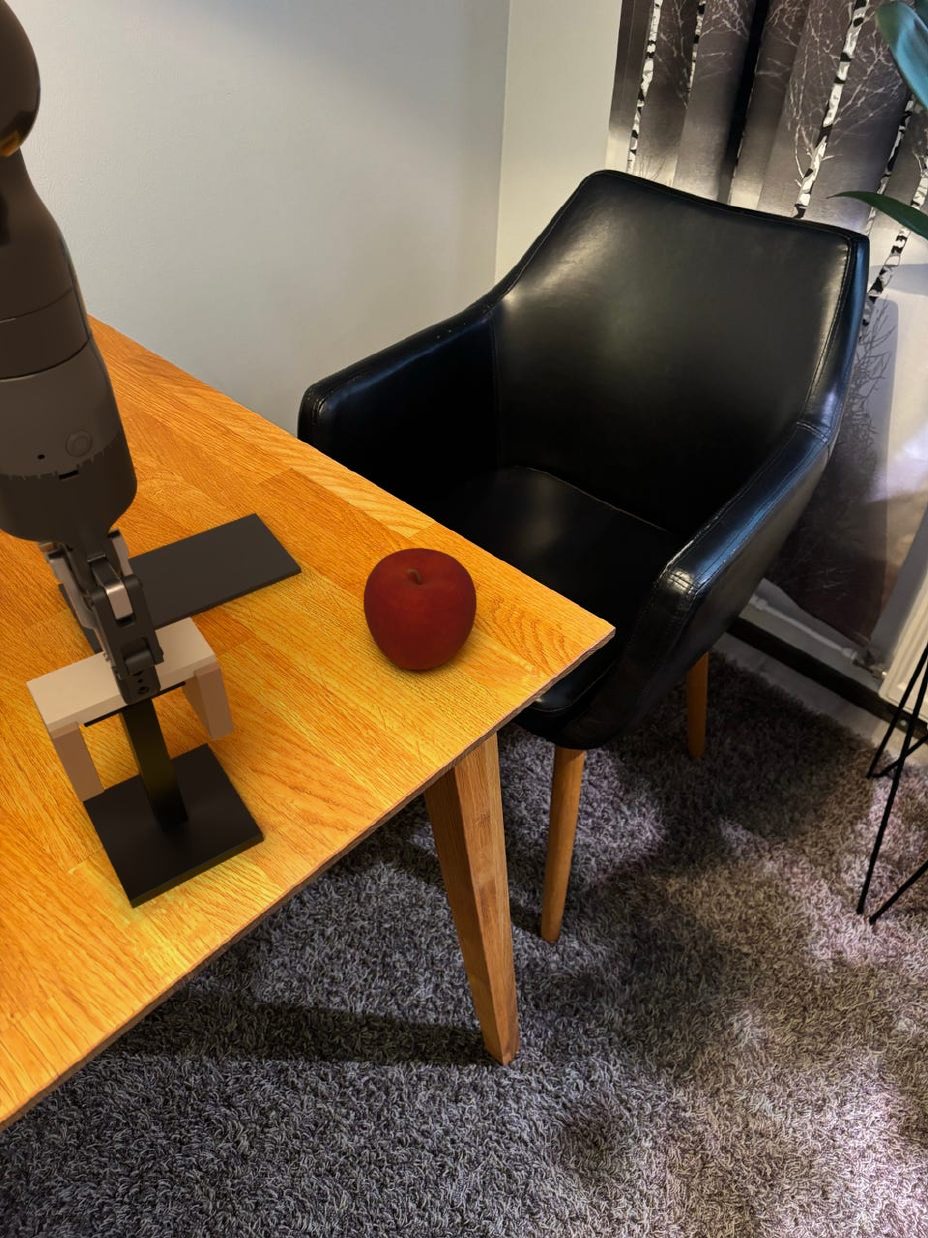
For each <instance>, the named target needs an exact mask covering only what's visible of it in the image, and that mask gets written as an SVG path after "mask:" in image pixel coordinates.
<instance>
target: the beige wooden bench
mask: <svg viewBox="0 0 928 1238" xmlns="http://www.w3.org/2000/svg"><path fill="white" fill-rule="evenodd" d="M155 632H156V635H157V639H158V642H159V645H160V647H161V648H162V650H163V652H164V655H163V658H164V662H163V663H160V664H158V665H155V668H156V671H157V675H158V678H159V681H160V685H161V689H160V691H161V690H163V689H166V688H168V687H170V686H173V685H175V684H177V683H180V682H182V681H184V680H185V683H186V685H184V686H182V687H181V691H182V694H183V695H184V697H185V699H186V701H187V703H188V704H189V705H190V707H191V708H192V710H193V712H194V713H195V715H196V716H197V718H198V720H199V722H200V723H201V725H202V726H203V728H204V730H205V731H206V733H207V734H208V736H209V738H210V739H211V741H212V742H215V741H218V740H219V739H222V738H225V737H227V736H228V735H231V734H233V733H235V727H234V722H233V718H232V713H231V708H230V704H229V700H228V696H227V695H228V694H227V689H226V686H225V682H224V677H223V673H222V669H221V666H220V665H219V663H218V661H217V656H216V653H215V652H214V649H212V647H211V646H210V644H209V643H208V642H207V640H206V638H205V637H204V636H203V634H202V633H201V631H200V630H199V628H198V627H197V625H196V624H195V622H194V620H193V619H192V618H191V617H188V618H186V619H183V620H181V621H178V622H176V623H173V624H171V625H168V626H165V627H163V628H160V629H158V630H155ZM103 653H104V651H103V652H100V653H98V654H95V653H94V654H93V655H91V656H88V657H86V658H83V659H81V660H78V661H75V662H73V663H70V664H68V665H66V666H63V667H60V668H58V669H54V670H53V671H50V672H48V673H45V674H43V675H40V676H38V677H35V678H33V679H30V680H28V681H26V682H25V684H26V687H27V689H28V691H29V693H30V695H31V699H32V700H33V703H34V705H35V707H36V710H37V711H38V714H39V716H40V718H41V721H42V724H43V726H44V727H45V730H46V732H47V734H48V738H49V739H50V741H51V744H52V746H53V748H54V750H55V752H56V755H57V756H58V757H57V758H58V759H59V761H60V763H61V765H62V767H63V770H64V772H65V774H66V776H67V778H68V780H69V782H70V784H71V786H72V788H73V790H74V792H75V795H76V798H77V799H78V801H79V803H82V802H83V801H85V800H87V799H90V798H92V797H94V796H96V795H98V794H100V793H103V792H104V790H105V788H104V786H103V783H102V781H101V777H100V776H99V772H98V771H97V768H96V765H95V764H94V763H95V762H94V761H93V758H92V756H91V753H90V751H89V748H88V746H87V743H86V741H85V738H84V736H83V733H82V730H81V728H80V726H81V725H84V723H86V722H89V721H91V720H93V719H96V718H98V717H100V716H103V715H105V714H107V713H110V712H112V711H114V710H117V709H119V708H121V707H124V706H126V705H128V704H126V703H125V702H124V700H123V699H122V697H121V695H120V693H119V690H118V687H117V684H116V681H115V678H114V675H113V672H112V670H111V667H110V664H109V662H106V661H105V659H104V657H103Z"/></svg>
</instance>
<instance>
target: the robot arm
mask: <svg viewBox="0 0 928 1238" xmlns="http://www.w3.org/2000/svg"><path fill="white" fill-rule="evenodd" d="M41 84H42V83H41V73H40V68H39V64H38V60H37V56H36V53H35V50H34V47H33V45H32V43H31V40H30V38H29V36H28V34H27V32H26V29H25V28H24V26H23V25H22V23H21V20H19V18H18V16H17V15H16V13H15V12H14V11H13V9H12V8H11V6H10V5H9V4H8V2H7V1H6V0H0V530H1V532H4V533H5V534H7V535H9V536H11V537H14V538H15V539H16V538H17V539H20V540H23V541H27V542H28V541H29V542H34V543H36V545H37V548H38V549H39V550H40V552H41V553H42V555H43V557H44V559H45V562H46V564H48V565H49V567H50V569H51V572H52V574H53V576H54V578H55V579H56V581H58V582H59V583H63V585H64V588H65V590H66V593H67V596H68V598H69V601H70V604H71V607H72V609H73V611H74V612H75V614H76V616H78V618H79V621H80V623H81V624H82V625H83V626H84V627H86V628H89V629H93V630H94V631H95V633H96V635H97V638H98V640H99V642H100V644H101V647H102V649H103V651H104V653H103V657H104V659H105V661H106V662H109V664H110V667H111V670H112V672H113V675H114V678H115V681H116V684H117V687H118V690H119V693H120V695H121V697H122V699H123V700H124V702H125V703H126V704H128V705H132V704H135V703H137V702H140V701H142V700H144V699H146V698H149V697H151V696H153V695H156V694H157V693H158V692H159V691H160V689H161V685H160V681H159V678H158V675H157V671H156V668H155V665H158V664H160V663H163V662H164V658H163V655H164V652H163V650H162V648H161V647H160V645H159V642H158V639H157V635H156V632H155V629H154V625H153V622H152V619H151V616H150V612H149V609H148V606H147V603H146V599H145V596H144V593H143V590H142V588H143V584H142V581H141V580H140V578H139V579H138V578H137V576H136V575H135V573H133V572H132V569H131V567H130V565H129V562H128V559H129V558H130V551H129V548H128V545H127V543H126V540H125V538H124V536H123V534H122V532H121V530H120V528H119V527H115V528H113V529H112V527H113V526H114V525H115V524H116V522H117V521H118V520H119V519H120V518H121V517H122V516H123V515H124V514H125V513H126V512H127V511H128V510H129V509H130V508H131V506H132V505H133V502H134V501H135V498H136V497H137V496H136V495H137V492H138V478H137V474H136V473H137V472H136V469H135V466H134V463H133V459H132V455H131V451H130V446H129V444H128V440H127V436H126V433H125V428H124V425H123V421H122V418H121V414H120V410H119V406H118V403H117V399H116V395H115V391H114V387H113V383H112V380H111V377H110V373H109V370H108V367H107V365H106V362H105V359H104V357H103V355H102V353H101V350H100V348H99V346H98V343H97V341H96V339H95V335H94V333H93V330H92V327H91V322H90V318H89V315H88V311H87V308H86V304H85V300H84V296H83V293H82V290H81V286H80V282H79V278H78V274H77V272H76V269H75V265H74V262H73V258H72V255H71V251H70V249H69V246H68V243H67V242H66V239H65V236H64V234H63V232H62V229H61V227H60V226H59V224H58V222H57V220H56V219H55V217H54V216H53V214H52V213H51V211H50V210H49V208H48V207H47V206H46V204H45V202H44V201H43V200H42V199H41V197H40V195H39V194H38V192H37V190H36V189H35V186H34V184H33V182H32V179H31V177H30V174H29V172H28V169H27V165H26V162H25V158H24V155H23V151H22V149H21V146H22V145H24V143H25V142H26V140H27V139H28V137H30V134H31V133H32V131H33V129H34V127H35V125H36V122H37V119H38V115H39V112H40V107H41V99H42V98H41V97H42V85H41ZM120 575H121V578H120Z"/></svg>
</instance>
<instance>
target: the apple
mask: <svg viewBox="0 0 928 1238" xmlns="http://www.w3.org/2000/svg"><path fill="white" fill-rule="evenodd" d="M477 599H478V598H477V591H476V587H475V585H474V581H473V578H472V575H471V574H470V573H469V571H468V569H467V568H466V567H465V566H464V565H463V564H462V563H461V562H460V561H459V560H458V559H457V558H455V557H453V556H452V555H450V554H448V553H446V552H443V551H441V550H436V549H432V548H427V547H426V548H424V547H410V548H405V549H401V550H398V551H395V552H392V553H390V554H387V555H385V556H384V557H383V558H381V559H380V560H379V561H378V562H377V563H376V565H375V566H374V567H373V569H372V571H370V573H369V575H368V577H367V579H366V582H365V586H364V591H363V612H364V617H365V621H366V625H367V628H368V631H369V633H370V635H371V637H372V639H373V640H374V643H375V644H376V646H377V647H378V649H379V650H380V652H381V653H382V654H383V655H384V656H385V657H386V658H387V659H388V660H390V662H392V663H393V664H395V665H397V666H398V667H400V668H403V669H408V670H414V671H417V670H419V671H420V670H421V671H422V670H427V669H431V668H435V667H437V666H440V665H442V664H444V663H447V662H448V660H450V659H451V658H452V657H454V656H455V655H457V653H459V651H460V650H461V649H462V648H463V646H464V645H465V643H466V642H467V640H468V638H469V636H470V634H471V632H472V629H473V627H474V623H475V620H476V614H477V607H478V605H477Z"/></svg>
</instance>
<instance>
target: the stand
mask: <svg viewBox="0 0 928 1238" xmlns="http://www.w3.org/2000/svg"><path fill="white" fill-rule="evenodd" d="M184 685H186V683H185V680H184V681H182V682H180V683H177V684H175V685H173V686H170V687H168V688H166V689H163V690H161V691H159V692H158V693H157V694H156V695H153V696H151V697H149V698H146V699H144V700H142V701H140V702H137V703H135V704H132V705H126V706H124V707H121V708H119V709H117V710H114V711H112V712H110V713H107V714H105V715H103V716H100V717H98V718H96V719H93V720H91V721H89V722H86V723H84V724H83V726H84V727H85V728H88V727H90V726H93V725H95V724H98V723H100V722H103V721H105V720H107V719H109V718H112V717H114V716H117V715H118V717H119V720H120V724H121V726H122V729H123V731H124V735H125V737H126V741H127V744H128V747H129V749H130V751H131V755H132V757H133V760H134V764H135V767H136V769H137V773H138V774H136V775H133V776H131V777H129V778H127V779H124V780H122V781H120V782H118V783H116V784H114V785H112V786H109V787H107V788H104V792H103V793H100V794H98V795H96V796H94V797H92V798H90V799H87V800H85V801H83V802H81V804H82V805H83V807H84V810H85V812H86V814H87V816H88V818H89V820H90V822H91V825H92V827H93V828H94V829H93V830H95V831H94V832H95V833H96V835H97V837H98V839H99V841H100V843H101V845H102V847H103V849H104V852H105V854H106V856H107V858H108V860H109V863H110V864H111V866H112V869H113V871H114V874H115V875H116V877H117V880H118V881H119V884H120V885H121V887H122V890H123V892H124V894H125V896H126V898H127V900H128V903H129V905H130V907H131V909H135V908H137V907H140V906H141V905H143V904H145V903H147V902H149V901H150V900H152V899H155V898H156V897H158V896H160V895H162V894H164V893H166V892H168V891H170V890H172V889H174V888H175V887H178V886H179V885H182V884H183V883H185V882H188V881H189V880H191V879H193V878H195V877H197V876H198V875H201V874H203V873H205V872H206V871H208V870H210V869H212V868H214V867H216V866H219V865H220V864H222V863H224V862H225V861H228V860H229V859H232V858H233V857H236V856H237V855H240V854H241V853H243V852H245V851H247V850H249V849H251V848H252V847H255V846H257V845H259V844H260V843H262V842H264V841H265V839H264V835H263V832H262V830H261V829H260V827H259V826H258V824H257V821H256V820H255V819H254V817H253V816H252V814H251V812H250V810H249V809H248V807H247V806H246V803H245V802H244V801H243V799H242V797H241V796H240V794H239V792H238V791H237V789H236V787H235V785H234V784H233V783H232V781H231V779H230V778H229V776H228V774H227V773H226V771H225V770H224V768H223V766H222V765H221V763H220V762H219V760H218V758H217V757H216V755H215V753H214V752H213V750H212V748H211V747H210V745H209V743H208V742H205V743H203V744H201V745H199V746H196V747H195V748H192V749H189V750H188V751H185V752H183V753H181V754H179V755H177V756H175V757H172V758H171V757H170V753H169V750H168V747H167V744H166V739H165V737H164V735H163V731H162V728H161V724H160V721H159V718H158V714H157V711H156V709H155V705H154V701H153V700H154V699H156V698H158V697H161V696H163V695H165V694H168V693H170V692H173V691H175V690H177V689H179V688H182V686H184Z"/></svg>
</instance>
